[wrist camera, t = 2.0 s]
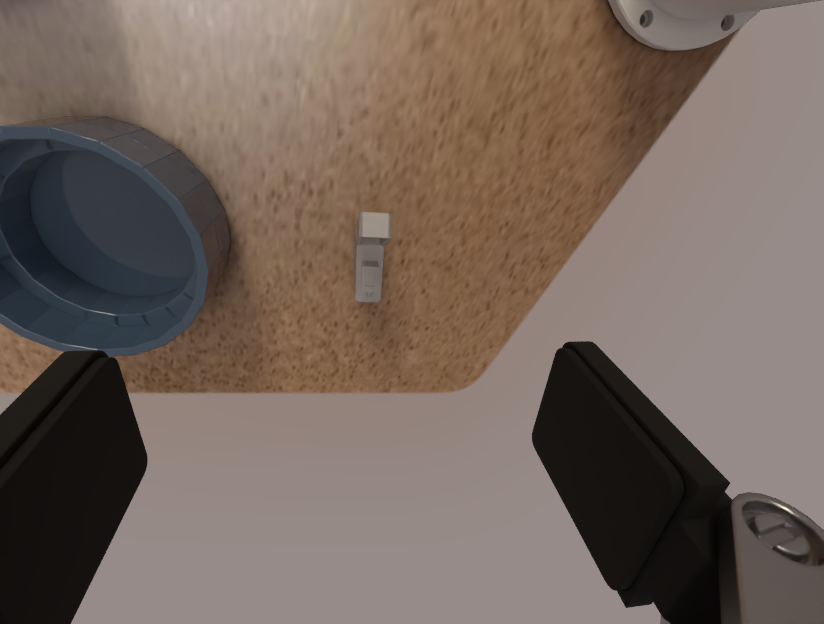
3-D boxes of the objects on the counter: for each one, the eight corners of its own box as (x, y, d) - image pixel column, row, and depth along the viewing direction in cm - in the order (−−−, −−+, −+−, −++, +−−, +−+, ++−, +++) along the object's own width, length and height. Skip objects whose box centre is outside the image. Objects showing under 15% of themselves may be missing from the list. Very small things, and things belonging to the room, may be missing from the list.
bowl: (208, 116, 25) (173, 126, 20) (246, 305, 32) (228, 349, 27) (-36, 114, 24) (-141, 125, 19) (57, 314, 30) (-2, 364, 25)
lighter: (376, 276, 32) (385, 330, 25) (353, 275, 32) (356, 330, 25) (381, 183, 29) (393, 216, 22) (356, 181, 29) (359, 215, 22)
